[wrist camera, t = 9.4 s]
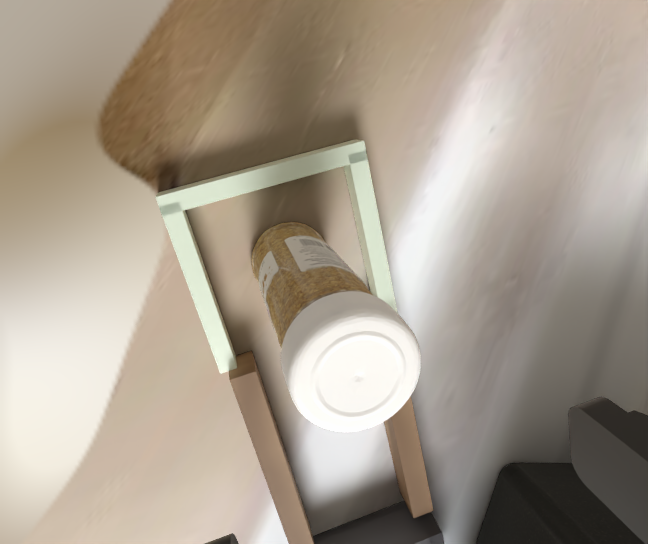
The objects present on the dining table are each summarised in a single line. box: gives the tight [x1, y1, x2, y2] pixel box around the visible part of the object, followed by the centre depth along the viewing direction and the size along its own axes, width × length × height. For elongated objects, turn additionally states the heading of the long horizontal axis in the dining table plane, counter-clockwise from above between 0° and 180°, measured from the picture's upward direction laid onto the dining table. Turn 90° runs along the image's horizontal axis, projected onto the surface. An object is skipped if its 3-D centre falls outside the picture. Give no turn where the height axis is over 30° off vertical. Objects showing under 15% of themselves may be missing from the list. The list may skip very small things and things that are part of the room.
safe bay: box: [156, 139, 398, 374], centre depth 27 cm, size 11×10×2 cm
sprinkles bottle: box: [252, 222, 421, 432], centre depth 21 cm, size 5×5×13 cm
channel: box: [229, 351, 433, 544], centre depth 31 cm, size 10×15×2 cm, turn 14°
